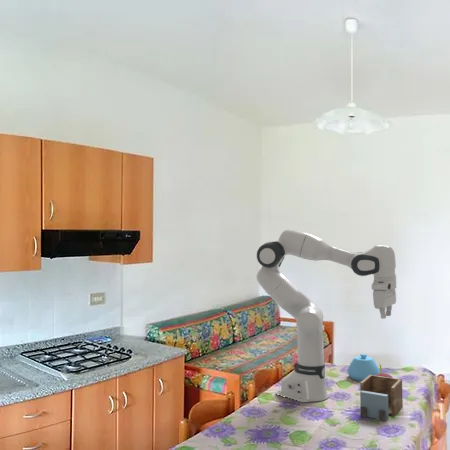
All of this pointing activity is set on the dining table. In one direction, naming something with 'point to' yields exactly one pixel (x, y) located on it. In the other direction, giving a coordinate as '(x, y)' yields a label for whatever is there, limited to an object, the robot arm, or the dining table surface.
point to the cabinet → (384, 387)
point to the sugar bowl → (362, 367)
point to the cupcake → (383, 374)
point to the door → (374, 403)
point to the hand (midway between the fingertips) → (386, 317)
